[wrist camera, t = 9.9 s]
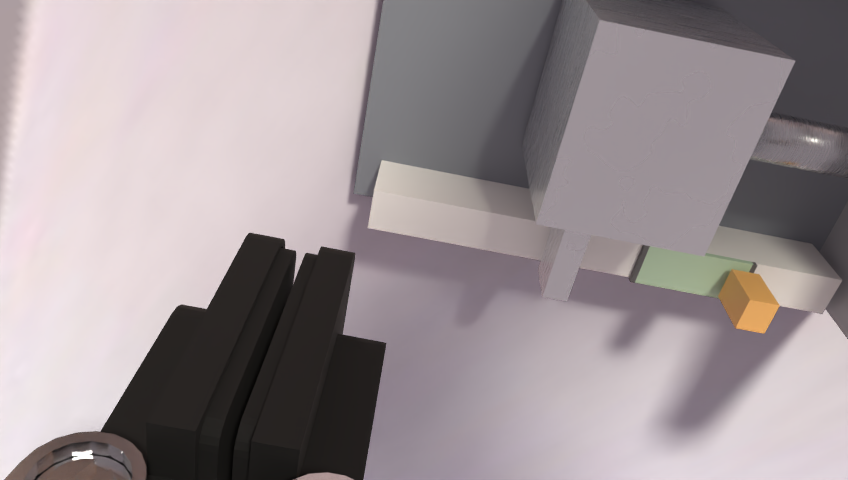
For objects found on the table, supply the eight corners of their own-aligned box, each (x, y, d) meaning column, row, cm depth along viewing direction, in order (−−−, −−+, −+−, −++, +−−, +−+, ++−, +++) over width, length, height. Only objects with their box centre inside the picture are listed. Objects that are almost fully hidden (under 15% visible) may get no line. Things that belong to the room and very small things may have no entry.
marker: (731, 269, 29) (750, 299, 27) (759, 274, 29) (779, 305, 27) (718, 296, 30) (735, 328, 28) (745, 301, 30) (764, 333, 28)
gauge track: (408, -153, 26) (375, -141, 16) (1021, -20, 27) (1320, 64, 18) (356, 183, 33) (312, 327, 23) (844, 277, 34) (989, 450, 25)
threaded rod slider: (569, -25, 27) (599, 19, 21) (919, 49, 27) (1048, 113, 21) (499, 224, 32) (507, 316, 26) (792, 280, 33) (865, 382, 27)
